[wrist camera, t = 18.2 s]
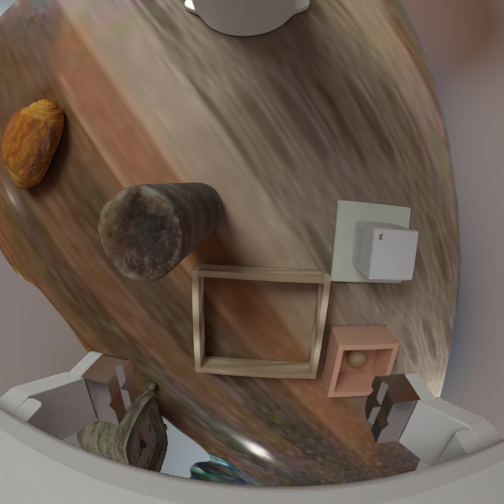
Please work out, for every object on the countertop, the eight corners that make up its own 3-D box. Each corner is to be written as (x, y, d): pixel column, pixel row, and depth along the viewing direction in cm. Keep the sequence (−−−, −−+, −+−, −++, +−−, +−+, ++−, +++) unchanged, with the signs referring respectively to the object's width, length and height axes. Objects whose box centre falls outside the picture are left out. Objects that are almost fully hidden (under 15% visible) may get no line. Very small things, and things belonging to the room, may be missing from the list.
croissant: (87, 121, 39) (63, 106, 31) (42, 201, 40) (13, 199, 32) (43, 93, 37) (19, 79, 29) (3, 164, 38) (-23, 159, 30)
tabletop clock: (174, 431, 48) (137, 533, 23) (133, 424, 48) (86, 515, 24) (160, 375, 45) (99, 487, 20) (114, 369, 45) (43, 464, 21)
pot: (330, 325, 41) (338, 345, 35) (385, 325, 41) (399, 343, 35) (321, 374, 43) (327, 397, 37) (372, 372, 43) (383, 393, 37)
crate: (198, 263, 40) (192, 270, 37) (326, 270, 40) (331, 277, 36) (200, 359, 44) (195, 371, 40) (312, 365, 43) (315, 378, 39)
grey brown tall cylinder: (229, 233, 39) (192, 277, 20) (178, 243, 40) (104, 290, 20) (218, 177, 38) (168, 165, 18) (166, 189, 38) (81, 193, 19)
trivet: (337, 199, 37) (338, 199, 37) (409, 207, 37) (410, 207, 36) (329, 279, 40) (330, 280, 39) (399, 282, 39) (401, 283, 39)
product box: (350, 264, 39) (367, 280, 31) (355, 219, 37) (374, 226, 30) (390, 266, 38) (412, 281, 31) (395, 223, 37) (420, 230, 30)
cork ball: (346, 344, 41) (351, 354, 38) (365, 343, 41) (371, 354, 38) (342, 361, 42) (347, 372, 39) (361, 360, 42) (367, 371, 39)
